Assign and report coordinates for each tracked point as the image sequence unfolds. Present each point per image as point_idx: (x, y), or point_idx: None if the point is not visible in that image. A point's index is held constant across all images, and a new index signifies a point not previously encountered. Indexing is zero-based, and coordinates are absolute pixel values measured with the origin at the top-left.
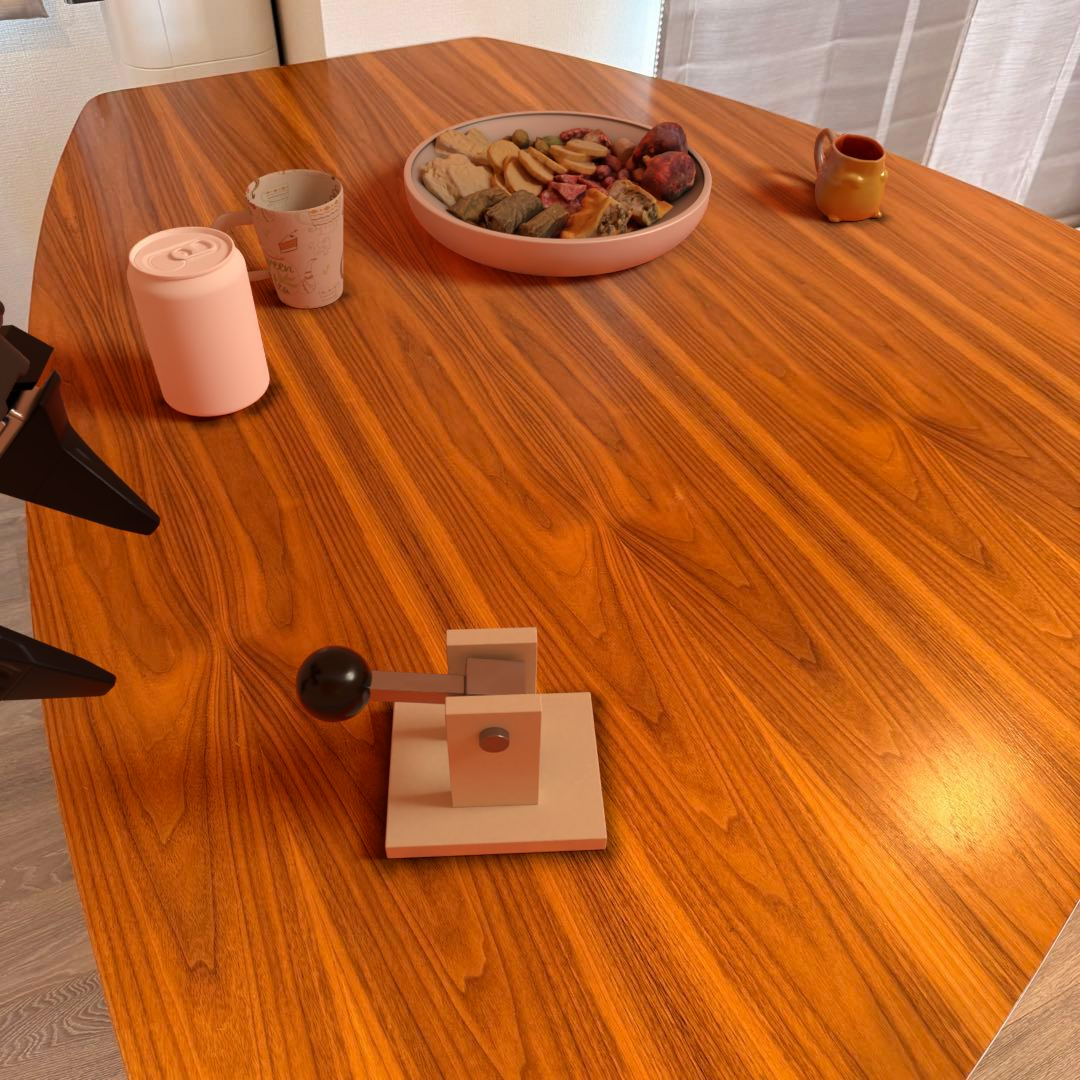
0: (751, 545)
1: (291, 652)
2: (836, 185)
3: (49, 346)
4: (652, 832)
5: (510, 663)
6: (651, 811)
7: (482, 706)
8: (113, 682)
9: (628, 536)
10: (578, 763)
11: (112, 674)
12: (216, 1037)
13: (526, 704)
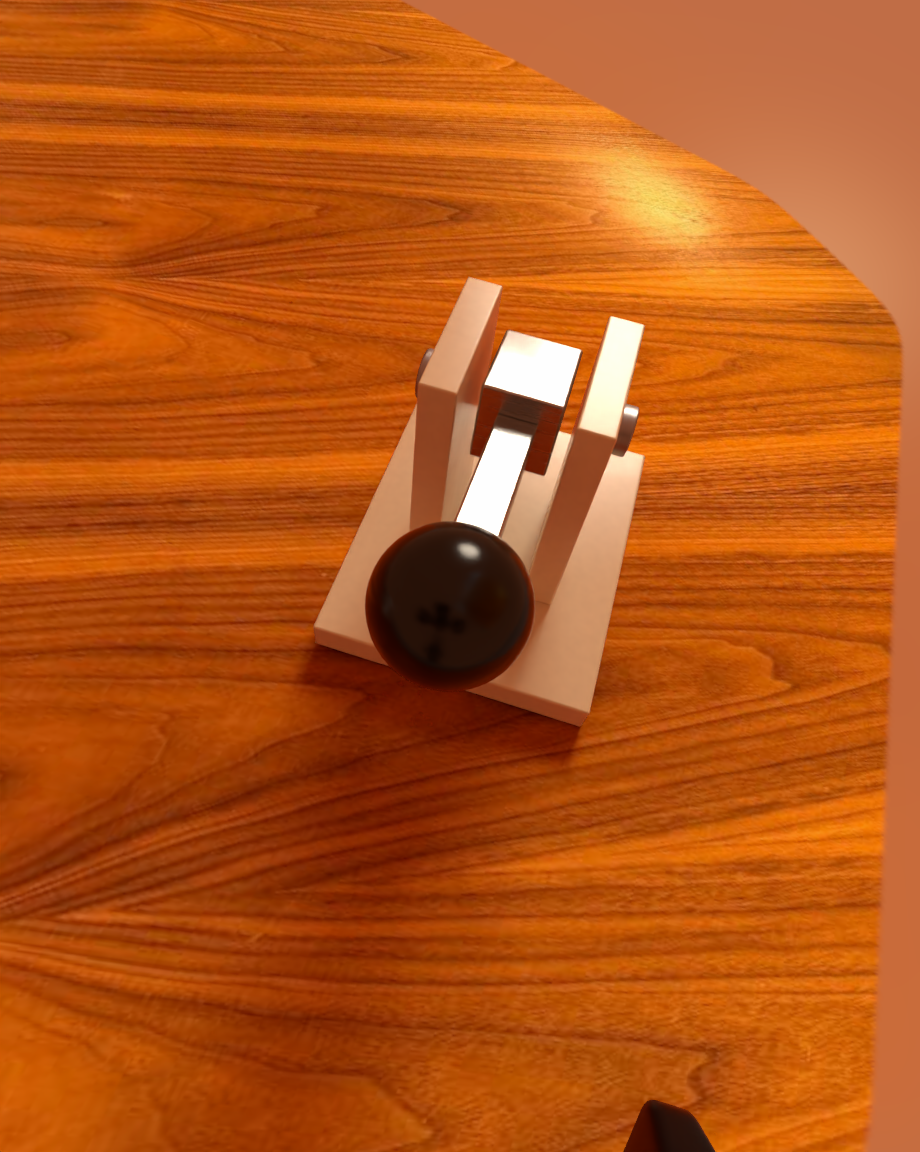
0: (258, 178)
1: (81, 787)
2: None
3: None
4: None
5: (510, 343)
6: None
7: (615, 387)
8: (690, 1113)
9: (156, 268)
10: None
11: (663, 1112)
12: (822, 1064)
13: (629, 336)
